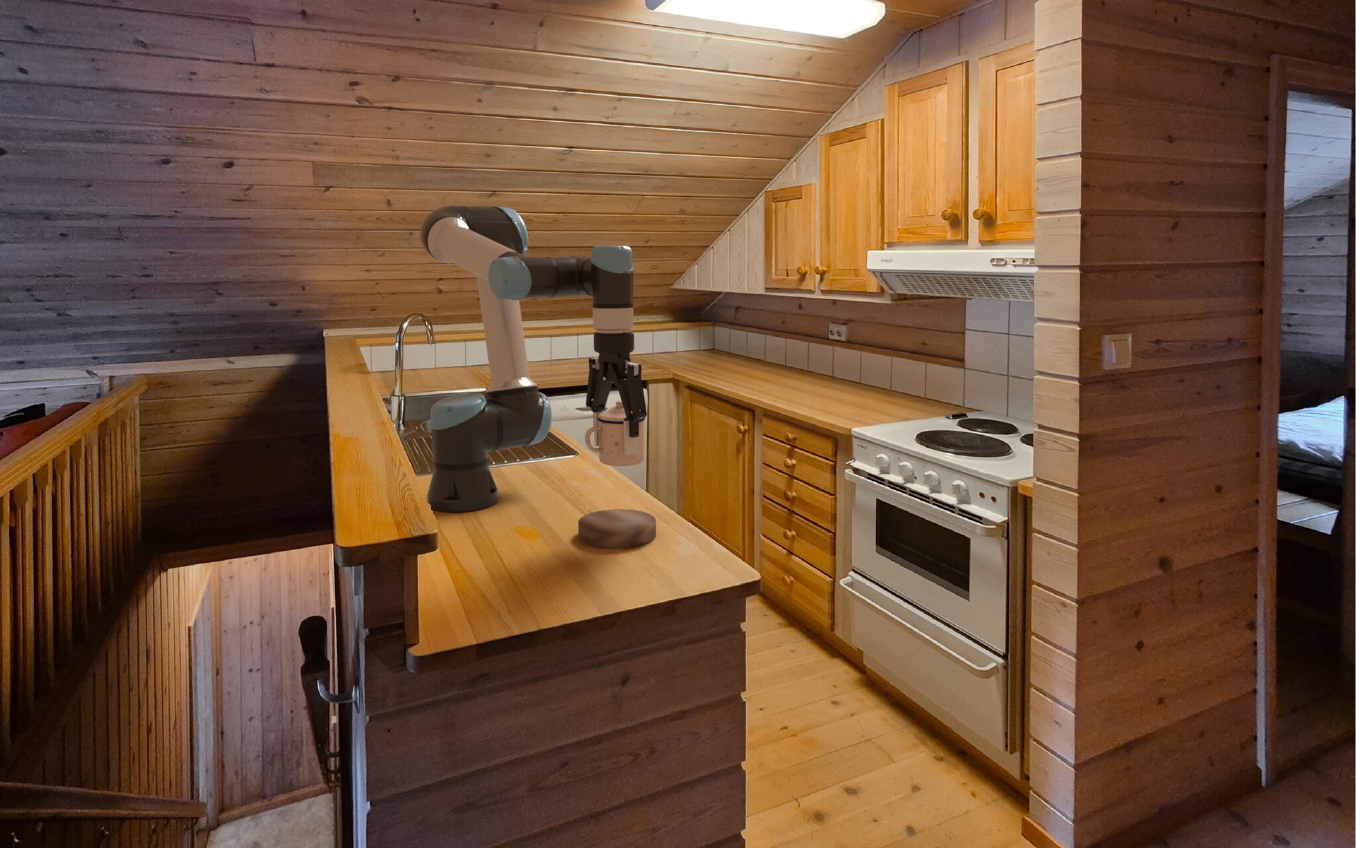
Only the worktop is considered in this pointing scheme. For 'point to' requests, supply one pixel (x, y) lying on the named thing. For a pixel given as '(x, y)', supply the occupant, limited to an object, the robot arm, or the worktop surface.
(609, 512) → the walnut stand
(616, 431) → the teacup with lid
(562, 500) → the worktop surface
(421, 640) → the worktop surface
